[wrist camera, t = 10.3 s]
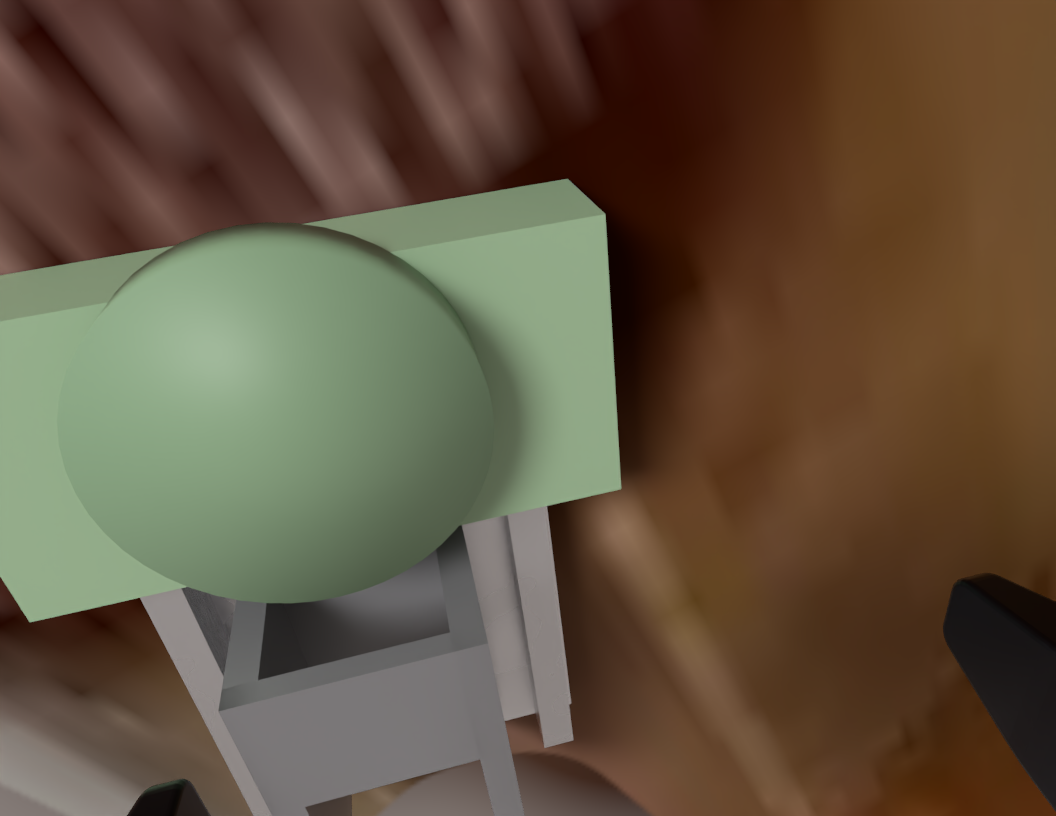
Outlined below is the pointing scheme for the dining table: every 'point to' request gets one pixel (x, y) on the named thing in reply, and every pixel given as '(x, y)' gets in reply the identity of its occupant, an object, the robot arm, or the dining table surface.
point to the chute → (367, 690)
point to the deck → (468, 251)
